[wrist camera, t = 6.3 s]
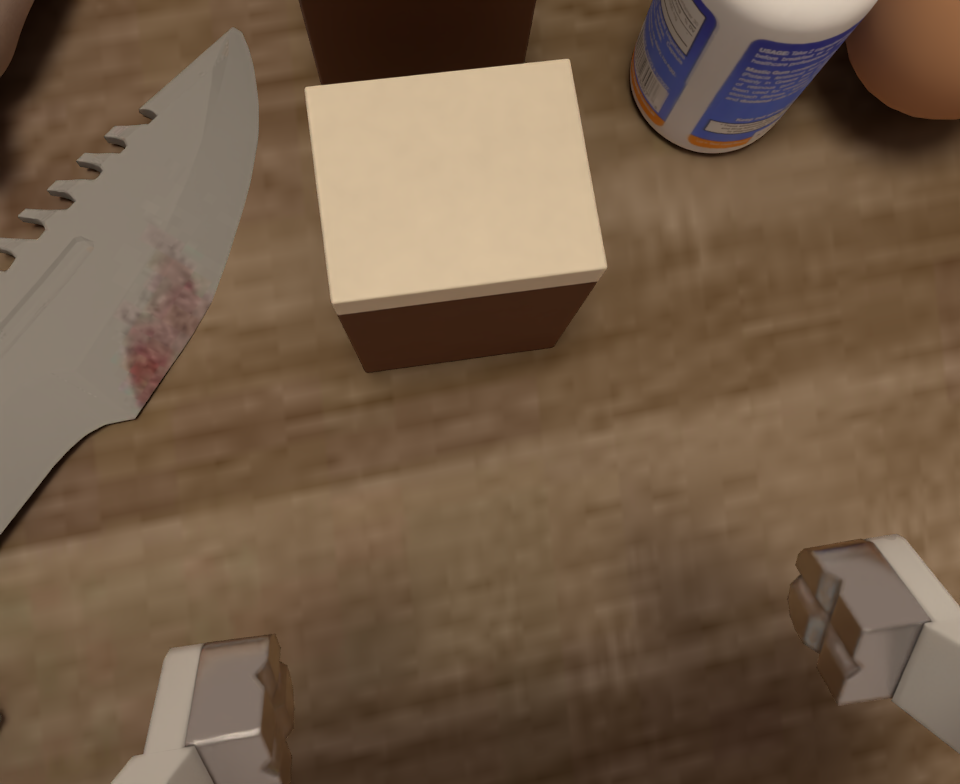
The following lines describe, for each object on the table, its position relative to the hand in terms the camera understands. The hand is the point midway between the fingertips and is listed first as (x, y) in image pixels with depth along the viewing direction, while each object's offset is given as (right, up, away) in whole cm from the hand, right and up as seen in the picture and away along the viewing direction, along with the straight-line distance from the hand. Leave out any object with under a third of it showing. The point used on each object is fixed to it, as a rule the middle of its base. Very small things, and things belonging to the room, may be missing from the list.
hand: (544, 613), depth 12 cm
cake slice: (-2, +7, +13) cm, 15 cm away
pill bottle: (+7, +14, +15) cm, 21 cm away
